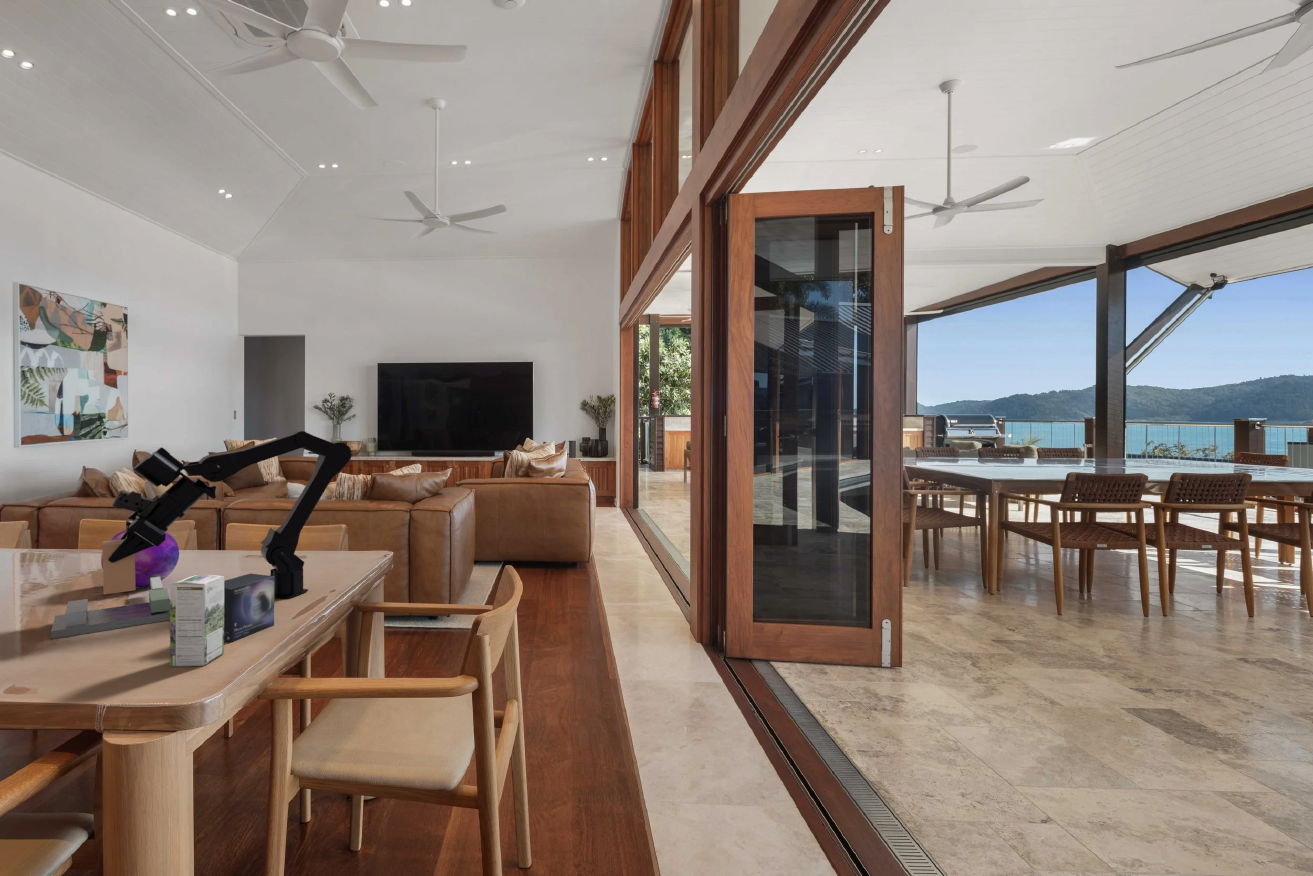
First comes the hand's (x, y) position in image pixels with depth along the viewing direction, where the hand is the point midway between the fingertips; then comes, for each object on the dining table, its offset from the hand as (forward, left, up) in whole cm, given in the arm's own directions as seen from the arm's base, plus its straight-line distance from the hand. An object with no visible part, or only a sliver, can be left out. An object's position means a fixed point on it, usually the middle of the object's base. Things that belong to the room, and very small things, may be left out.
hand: (110, 559), depth 130 cm
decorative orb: (+19, -24, -13) cm, 33 cm away
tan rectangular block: (-1, -1, -7) cm, 7 cm away
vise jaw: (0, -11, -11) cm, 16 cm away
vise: (-2, -2, -13) cm, 13 cm away
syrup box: (-35, +15, -13) cm, 40 cm away
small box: (-31, +1, -13) cm, 34 cm away
